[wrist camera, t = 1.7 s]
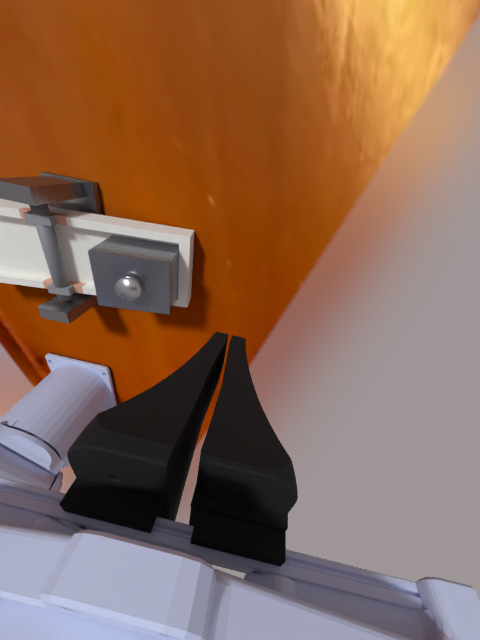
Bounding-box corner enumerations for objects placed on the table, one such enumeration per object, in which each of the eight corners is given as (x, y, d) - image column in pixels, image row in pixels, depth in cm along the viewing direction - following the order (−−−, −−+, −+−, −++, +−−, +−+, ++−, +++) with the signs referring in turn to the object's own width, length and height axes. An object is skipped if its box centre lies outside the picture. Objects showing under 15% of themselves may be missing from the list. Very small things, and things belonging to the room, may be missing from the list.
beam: (190, 302, 22) (185, 317, 20) (-43, 270, 21) (-75, 283, 19) (194, 222, 18) (189, 230, 16) (-96, 173, 17) (-143, 176, 15)
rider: (179, 292, 20) (166, 320, 17) (118, 283, 20) (92, 311, 16) (180, 245, 18) (166, 267, 15) (112, 235, 18) (80, 255, 14)
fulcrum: (115, 298, 23) (79, 326, 19) (76, 289, 24) (32, 316, 19) (97, 182, 18) (41, 187, 14) (46, 172, 18) (-24, 174, 14)
